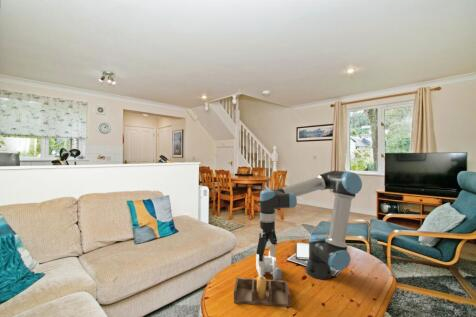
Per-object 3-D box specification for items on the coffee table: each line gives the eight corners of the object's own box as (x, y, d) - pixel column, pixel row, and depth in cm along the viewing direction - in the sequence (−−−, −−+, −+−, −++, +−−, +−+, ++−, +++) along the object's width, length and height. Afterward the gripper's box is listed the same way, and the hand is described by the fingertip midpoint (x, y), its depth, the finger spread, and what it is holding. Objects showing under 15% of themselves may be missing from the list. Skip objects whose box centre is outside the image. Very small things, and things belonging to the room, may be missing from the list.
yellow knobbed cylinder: (256, 293, 113) (256, 273, 113) (265, 293, 112) (265, 274, 112) (256, 299, 108) (257, 278, 108) (266, 299, 108) (266, 278, 108)
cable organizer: (277, 280, 128) (277, 260, 128) (259, 281, 127) (259, 260, 127) (271, 267, 142) (271, 249, 142) (255, 268, 142) (255, 250, 142)
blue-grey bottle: (281, 284, 123) (281, 266, 123) (282, 289, 119) (282, 270, 119) (272, 284, 124) (273, 266, 124) (273, 288, 119) (273, 270, 119)
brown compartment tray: (286, 291, 117) (286, 280, 117) (289, 306, 105) (290, 294, 105) (236, 288, 119) (236, 277, 119) (233, 302, 107) (234, 290, 107)
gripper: (270, 214, 126) (270, 251, 126) (249, 225, 105) (249, 269, 105) (282, 216, 122) (283, 254, 122) (263, 228, 101) (263, 274, 101)
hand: (267, 261), depth 113 cm, fingers open, 13 cm apart
